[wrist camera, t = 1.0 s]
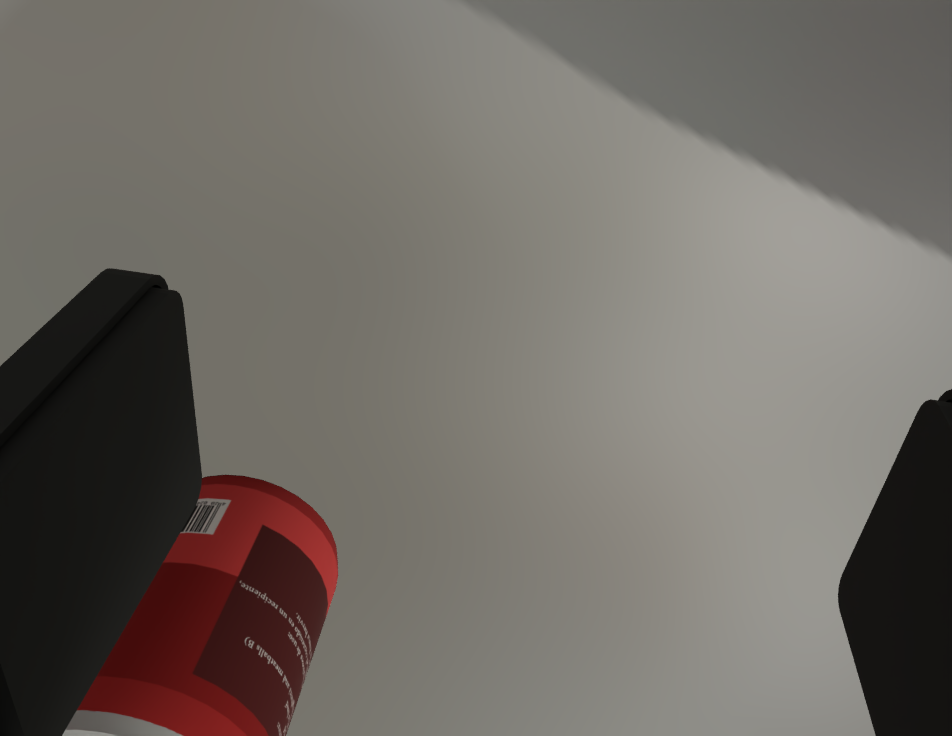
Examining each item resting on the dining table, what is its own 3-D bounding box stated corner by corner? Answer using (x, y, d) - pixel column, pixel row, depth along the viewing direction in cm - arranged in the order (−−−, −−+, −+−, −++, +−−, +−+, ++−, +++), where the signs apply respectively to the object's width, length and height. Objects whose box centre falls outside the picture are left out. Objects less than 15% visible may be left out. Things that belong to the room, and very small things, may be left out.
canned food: (123, 551, 36) (-46, 811, 26) (203, 431, 31) (37, 690, 22) (284, 638, 37) (179, 911, 28) (380, 536, 33) (295, 815, 24)
